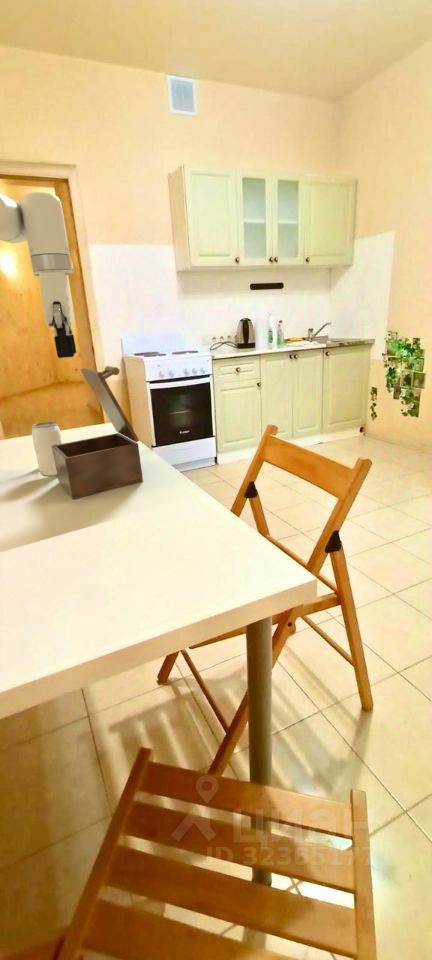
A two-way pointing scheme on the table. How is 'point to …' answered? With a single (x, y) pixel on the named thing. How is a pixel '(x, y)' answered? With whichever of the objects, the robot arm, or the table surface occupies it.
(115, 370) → the lid
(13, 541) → the table surface
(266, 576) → the table surface
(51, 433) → the can
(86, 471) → the chest
